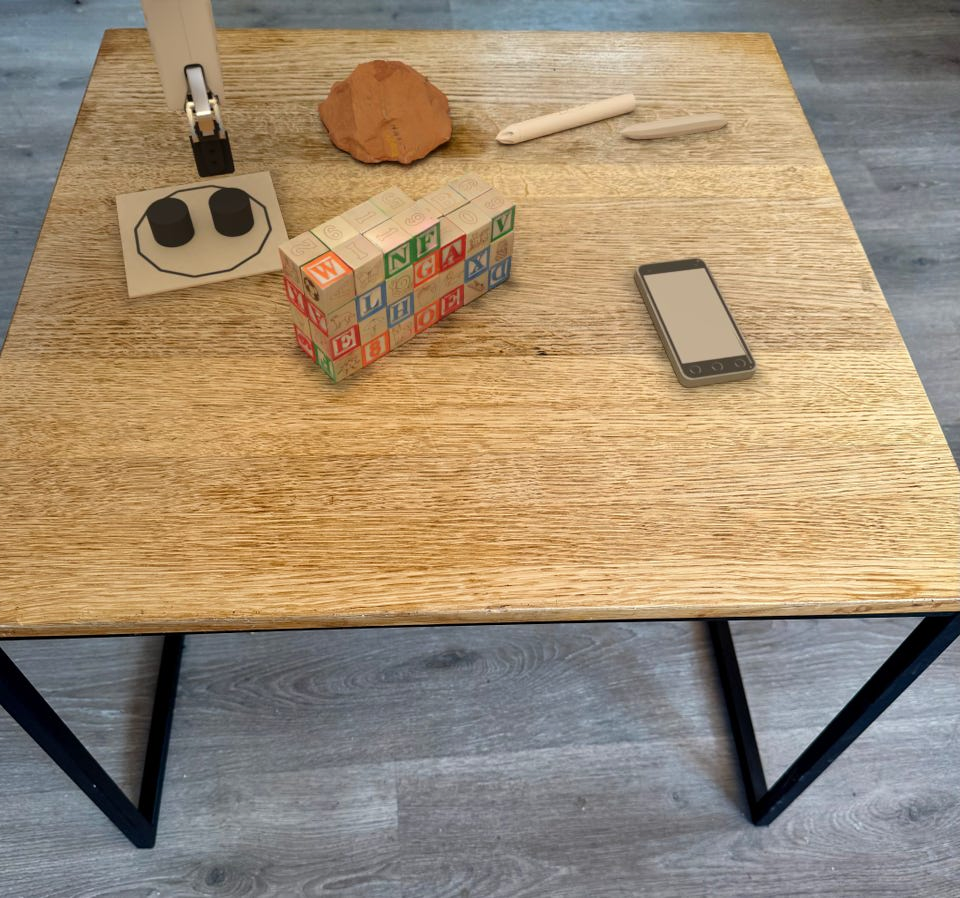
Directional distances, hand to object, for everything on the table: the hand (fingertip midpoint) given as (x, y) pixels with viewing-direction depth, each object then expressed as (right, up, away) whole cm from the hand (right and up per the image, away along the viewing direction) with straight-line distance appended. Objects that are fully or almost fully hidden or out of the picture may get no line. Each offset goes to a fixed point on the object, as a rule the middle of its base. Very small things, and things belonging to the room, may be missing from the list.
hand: (209, 141), depth 81 cm
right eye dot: (0, -5, +9) cm, 10 cm away
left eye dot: (-6, -7, +7) cm, 12 cm away
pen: (+47, +8, +21) cm, 53 cm away
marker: (+35, +9, +21) cm, 41 cm away
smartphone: (+45, -16, +4) cm, 48 cm away
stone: (+14, +8, +19) cm, 25 cm away
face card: (-3, -6, +8) cm, 11 cm away
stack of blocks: (+18, -15, +4) cm, 24 cm away
